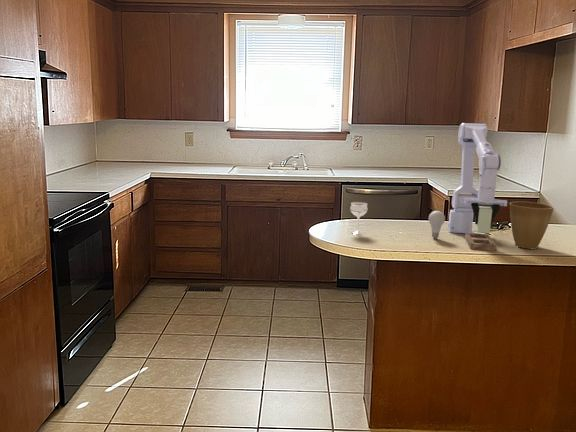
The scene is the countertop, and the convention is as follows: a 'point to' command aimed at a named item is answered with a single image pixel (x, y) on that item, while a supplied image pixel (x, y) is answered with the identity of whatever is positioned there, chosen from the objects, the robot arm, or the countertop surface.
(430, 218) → the lightbulb
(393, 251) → the countertop surface
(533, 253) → the countertop surface
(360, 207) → the wineglass
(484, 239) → the pocket rack
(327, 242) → the countertop surface
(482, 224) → the green block
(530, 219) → the plant pot
